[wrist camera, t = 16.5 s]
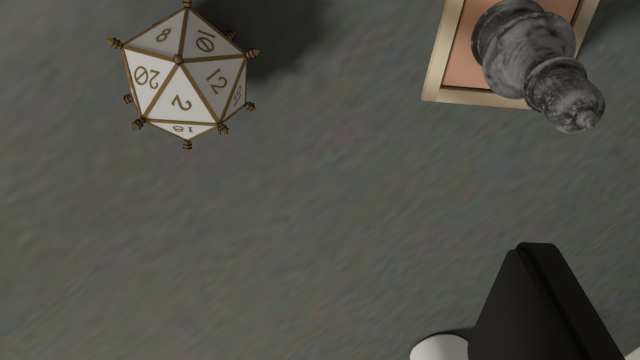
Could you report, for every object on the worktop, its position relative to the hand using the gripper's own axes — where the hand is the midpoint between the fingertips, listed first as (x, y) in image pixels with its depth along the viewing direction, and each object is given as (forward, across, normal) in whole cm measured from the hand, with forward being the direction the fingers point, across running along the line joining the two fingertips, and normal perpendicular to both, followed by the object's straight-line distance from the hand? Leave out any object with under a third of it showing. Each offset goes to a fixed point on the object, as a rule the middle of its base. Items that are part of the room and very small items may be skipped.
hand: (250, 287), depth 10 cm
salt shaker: (+28, -17, +5) cm, 33 cm away
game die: (+28, +4, +8) cm, 30 cm away
